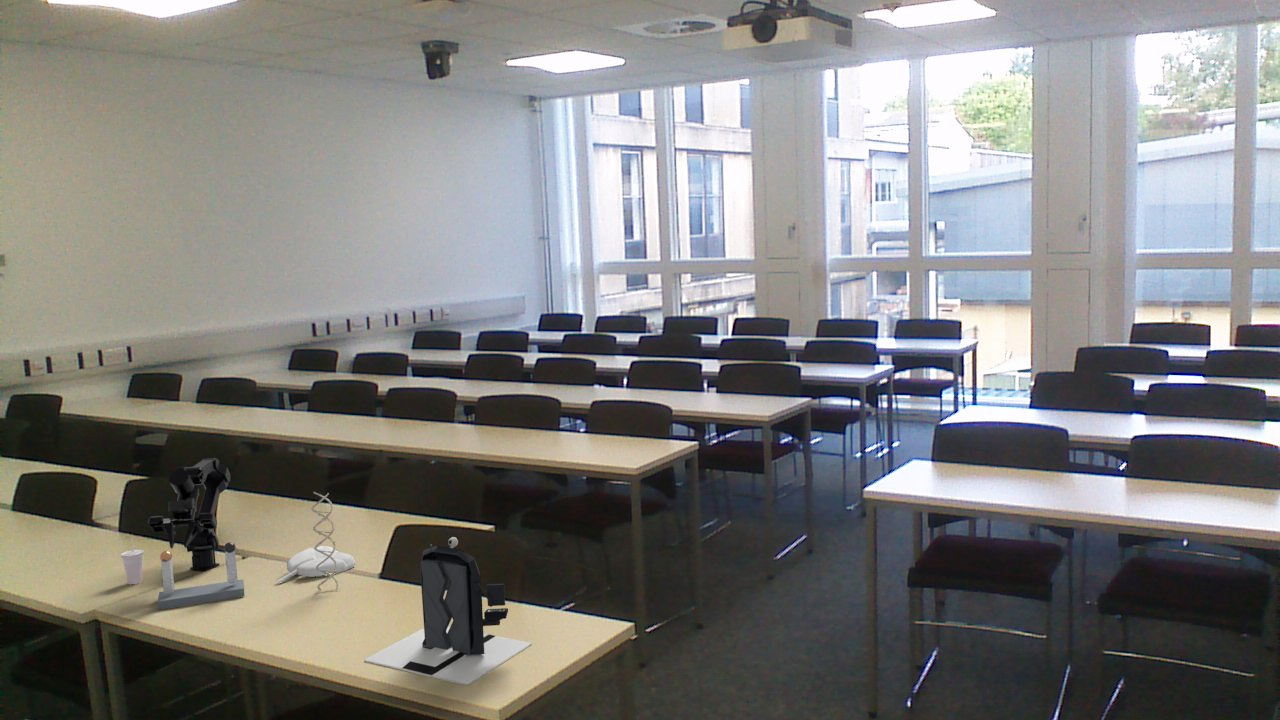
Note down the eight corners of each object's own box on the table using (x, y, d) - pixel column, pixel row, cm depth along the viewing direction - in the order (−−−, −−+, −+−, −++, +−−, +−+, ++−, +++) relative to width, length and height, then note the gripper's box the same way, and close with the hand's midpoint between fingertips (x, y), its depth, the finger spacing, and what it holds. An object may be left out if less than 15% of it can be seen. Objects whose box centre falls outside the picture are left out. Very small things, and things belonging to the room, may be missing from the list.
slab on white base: (364, 662, 236) (356, 549, 233) (433, 625, 259) (426, 522, 255) (468, 686, 221) (461, 565, 218) (531, 645, 243) (526, 535, 240)
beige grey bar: (225, 582, 289) (222, 542, 287) (236, 579, 291) (233, 540, 289) (228, 584, 286) (225, 544, 285) (239, 582, 288) (236, 542, 287)
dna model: (312, 593, 287) (304, 494, 283) (326, 585, 293) (319, 489, 289) (330, 595, 284) (322, 495, 281) (344, 588, 290) (337, 490, 287)
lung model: (362, 565, 311) (296, 596, 291) (327, 558, 321) (262, 588, 301) (359, 546, 310) (293, 576, 290) (324, 539, 320) (258, 568, 300)
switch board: (160, 600, 285) (159, 591, 285) (244, 587, 294) (243, 579, 294) (158, 610, 277) (157, 601, 277) (244, 596, 286) (243, 588, 285)
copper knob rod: (165, 590, 283) (161, 549, 282) (176, 589, 284) (173, 549, 282) (161, 594, 280) (157, 553, 279) (173, 593, 280) (169, 552, 279)
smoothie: (150, 579, 305) (146, 536, 303) (138, 586, 298) (134, 542, 297) (131, 579, 305) (127, 536, 304) (119, 586, 299) (114, 542, 297)
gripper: (146, 490, 293) (136, 536, 284) (211, 486, 296) (203, 532, 286) (158, 509, 302) (148, 554, 292) (220, 505, 304) (213, 549, 295)
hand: (178, 547), depth 291 cm, fingers open, 4 cm apart
